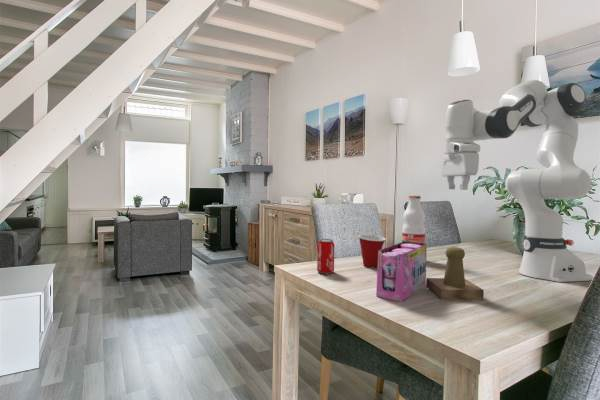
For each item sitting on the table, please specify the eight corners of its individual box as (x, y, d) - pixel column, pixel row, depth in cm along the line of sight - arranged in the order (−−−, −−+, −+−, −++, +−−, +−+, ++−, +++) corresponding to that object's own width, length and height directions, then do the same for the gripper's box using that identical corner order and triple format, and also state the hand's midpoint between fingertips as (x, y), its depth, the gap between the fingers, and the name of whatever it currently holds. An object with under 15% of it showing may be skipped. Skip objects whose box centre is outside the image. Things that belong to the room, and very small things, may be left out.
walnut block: (463, 287, 110) (464, 278, 110) (483, 300, 98) (483, 289, 98) (426, 287, 110) (426, 277, 110) (440, 299, 98) (441, 289, 98)
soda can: (331, 275, 124) (332, 242, 123) (314, 273, 126) (315, 241, 125) (335, 271, 130) (336, 239, 129) (319, 269, 132) (320, 238, 131)
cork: (470, 286, 102) (471, 249, 101) (452, 287, 100) (453, 249, 99) (455, 280, 107) (456, 245, 107) (438, 282, 106) (439, 246, 105)
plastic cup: (382, 270, 131) (382, 239, 131) (354, 267, 136) (354, 237, 135) (387, 264, 141) (388, 235, 140) (361, 262, 146) (362, 233, 145)
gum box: (400, 303, 95) (401, 254, 94) (373, 298, 100) (374, 251, 99) (426, 284, 114) (427, 243, 114) (402, 280, 119) (403, 240, 118)
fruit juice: (427, 260, 150) (429, 195, 149) (419, 264, 143) (421, 196, 141) (406, 257, 156) (408, 195, 155) (398, 260, 149) (399, 195, 147)
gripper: (437, 151, 128) (436, 189, 128) (462, 145, 107) (461, 189, 108) (454, 151, 127) (453, 189, 128) (483, 145, 107) (481, 190, 108)
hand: (457, 189), depth 118 cm, fingers open, 8 cm apart
